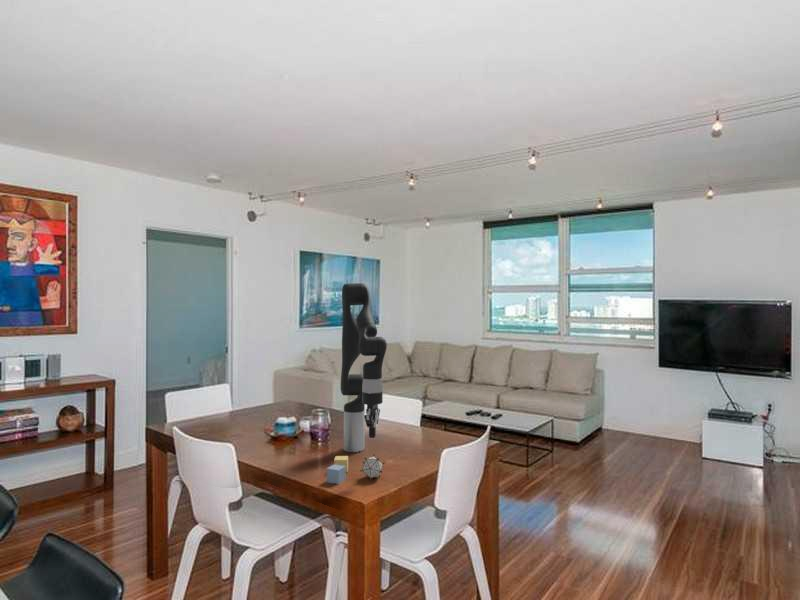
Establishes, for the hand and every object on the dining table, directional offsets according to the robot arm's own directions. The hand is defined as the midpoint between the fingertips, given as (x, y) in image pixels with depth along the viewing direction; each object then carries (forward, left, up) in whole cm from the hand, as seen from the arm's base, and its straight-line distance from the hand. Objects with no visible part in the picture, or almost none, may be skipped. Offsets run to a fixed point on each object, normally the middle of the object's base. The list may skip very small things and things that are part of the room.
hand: (372, 437), depth 183 cm
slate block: (+6, -12, -15) cm, 20 cm away
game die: (0, 0, -15) cm, 15 cm away
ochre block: (-5, -14, -15) cm, 21 cm away
